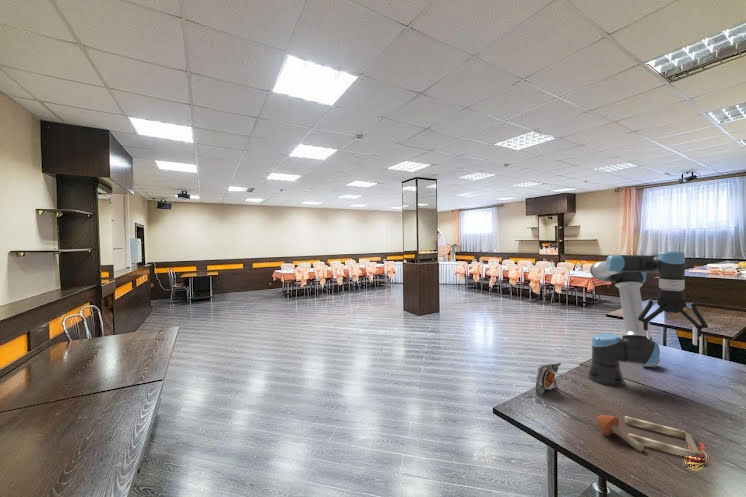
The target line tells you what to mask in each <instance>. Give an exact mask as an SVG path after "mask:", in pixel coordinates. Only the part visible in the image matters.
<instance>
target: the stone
mask: <svg viewBox="0 0 746 497" xmlns="http://www.w3.org/2000/svg"><path fill="white" fill-rule="evenodd" d="M660 361H661V358H660V357H659V360H658V362H657V363H656V364H655V365H642V364H640V365H641V366H643V367H646V368H647V367H648V368H656V367H657V366H658V365H659V363H660Z"/></svg>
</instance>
